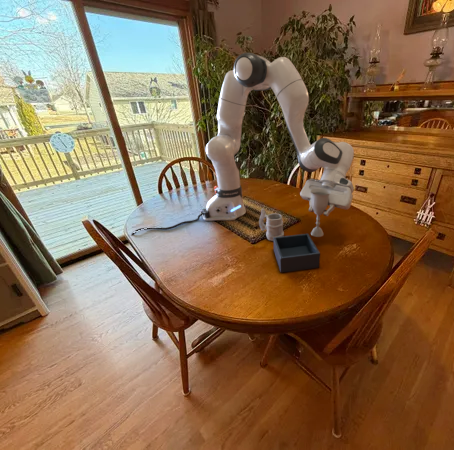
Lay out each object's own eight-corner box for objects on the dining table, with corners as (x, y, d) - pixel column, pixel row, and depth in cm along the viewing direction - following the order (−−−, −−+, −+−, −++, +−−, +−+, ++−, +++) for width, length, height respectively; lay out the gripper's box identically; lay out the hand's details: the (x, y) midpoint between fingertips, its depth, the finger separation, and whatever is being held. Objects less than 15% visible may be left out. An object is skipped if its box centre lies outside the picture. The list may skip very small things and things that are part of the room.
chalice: (327, 230, 97) (331, 189, 89) (325, 239, 92) (329, 195, 83) (309, 228, 100) (311, 187, 91) (306, 236, 94) (308, 194, 85)
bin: (280, 272, 80) (280, 258, 78) (273, 250, 92) (273, 237, 89) (319, 267, 82) (320, 253, 79) (307, 246, 94) (308, 233, 91)
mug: (277, 243, 96) (276, 217, 91) (254, 235, 103) (253, 210, 97) (287, 235, 102) (287, 210, 96) (265, 228, 108) (264, 204, 102)
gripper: (305, 173, 96) (292, 204, 94) (355, 182, 85) (341, 216, 83) (310, 181, 101) (297, 210, 99) (358, 190, 90) (344, 223, 88)
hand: (318, 213), depth 91 cm, fingers closed on chalice, 5 cm apart
